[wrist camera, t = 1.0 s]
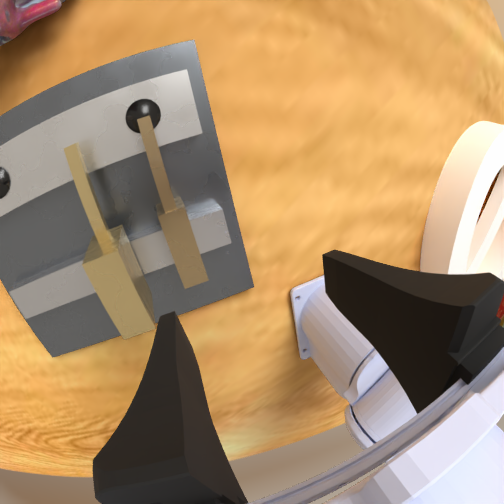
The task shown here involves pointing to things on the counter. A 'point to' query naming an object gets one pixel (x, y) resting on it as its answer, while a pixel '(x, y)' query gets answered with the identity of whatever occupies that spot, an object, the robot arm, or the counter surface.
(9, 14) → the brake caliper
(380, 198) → the counter surface
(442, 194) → the white circle with bar
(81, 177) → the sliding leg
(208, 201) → the grey mechanism base plate
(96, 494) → the robot arm
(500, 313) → the medicine box
